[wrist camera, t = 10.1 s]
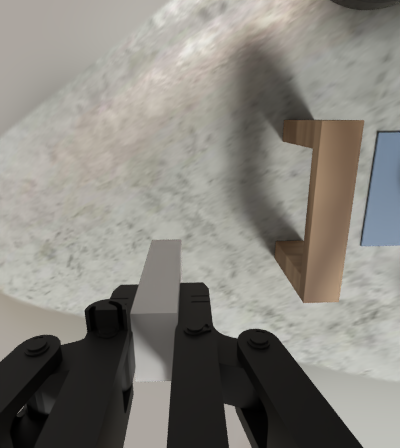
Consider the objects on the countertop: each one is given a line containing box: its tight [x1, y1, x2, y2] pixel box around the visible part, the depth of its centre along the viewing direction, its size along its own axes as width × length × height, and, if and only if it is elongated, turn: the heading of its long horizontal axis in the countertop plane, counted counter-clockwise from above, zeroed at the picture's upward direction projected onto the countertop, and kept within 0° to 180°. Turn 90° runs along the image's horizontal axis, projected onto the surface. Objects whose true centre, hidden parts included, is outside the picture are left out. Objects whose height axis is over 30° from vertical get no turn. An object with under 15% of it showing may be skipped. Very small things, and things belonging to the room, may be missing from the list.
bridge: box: [275, 120, 364, 303], centre depth 30 cm, size 3×14×9 cm, turn 1°
